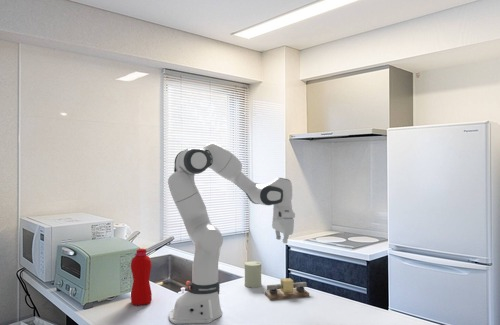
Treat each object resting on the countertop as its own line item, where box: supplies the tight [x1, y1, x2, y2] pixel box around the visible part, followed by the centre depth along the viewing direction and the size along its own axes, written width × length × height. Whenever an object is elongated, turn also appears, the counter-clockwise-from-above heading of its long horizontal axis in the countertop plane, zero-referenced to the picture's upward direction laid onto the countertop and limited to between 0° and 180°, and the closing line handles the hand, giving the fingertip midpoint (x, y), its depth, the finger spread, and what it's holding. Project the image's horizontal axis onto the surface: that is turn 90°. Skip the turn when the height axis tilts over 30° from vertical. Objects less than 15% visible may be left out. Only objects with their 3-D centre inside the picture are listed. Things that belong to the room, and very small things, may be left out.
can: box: [243, 260, 263, 289], centre depth 205 cm, size 9×9×12 cm
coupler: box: [280, 277, 294, 294], centre depth 189 cm, size 5×4×6 cm
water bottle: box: [126, 248, 153, 306], centre depth 180 cm, size 9×11×25 cm
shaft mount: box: [264, 281, 310, 301], centre depth 189 cm, size 20×9×6 cm, turn 104°
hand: (281, 241), depth 182 cm, fingers open, 8 cm apart
